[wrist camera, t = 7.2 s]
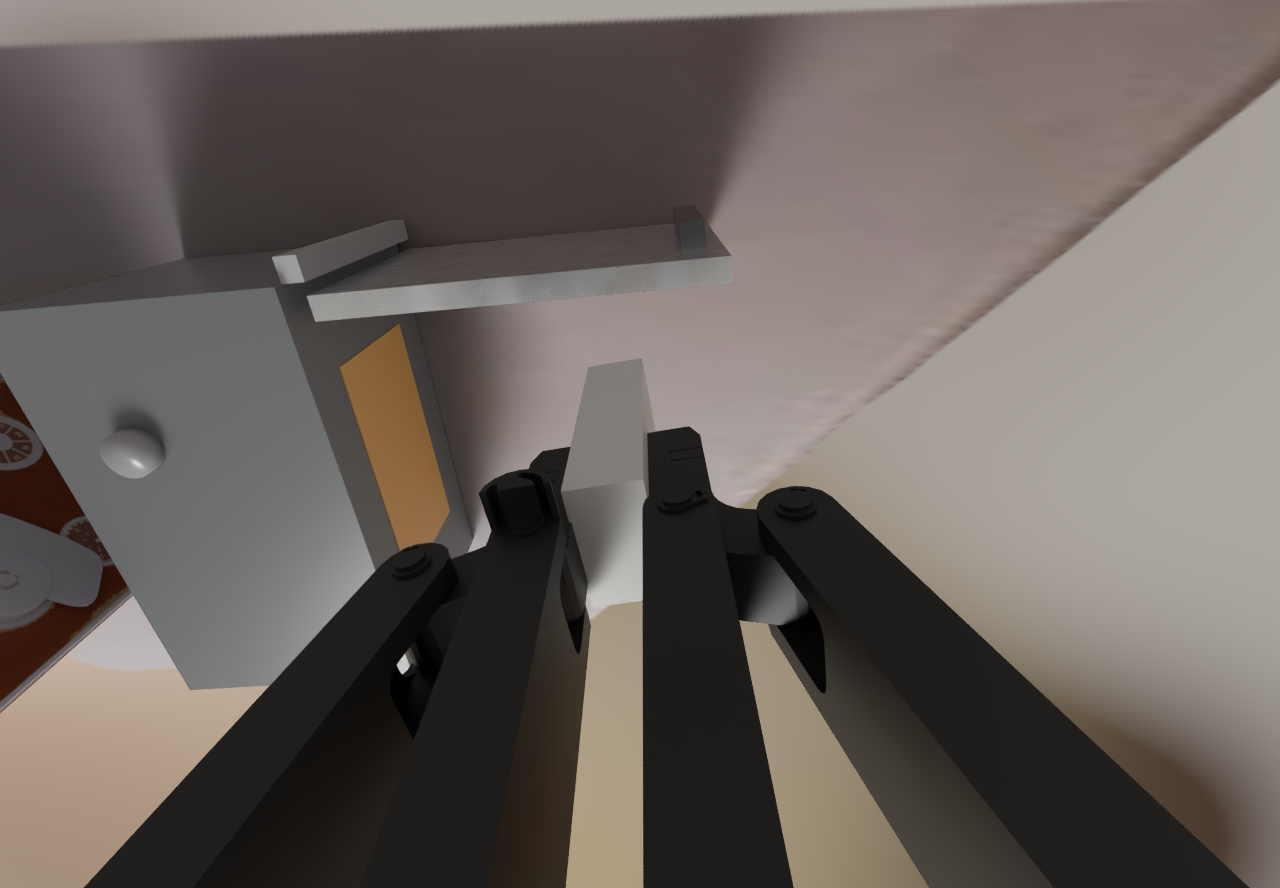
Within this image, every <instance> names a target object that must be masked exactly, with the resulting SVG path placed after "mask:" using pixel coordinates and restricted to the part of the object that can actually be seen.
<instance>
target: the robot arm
mask: <svg viewBox="0 0 1280 888" xmlns="http://www.w3.org/2000/svg"><path fill="white" fill-rule="evenodd" d="M479 496H480V498H481V501H482V504H483V507H484V510H485V513H486V516H487V519H488V521H489V524H490V527H491V530H492V531H491V534H490V536H489V539H488V542H487V545H486V546H485V547H482V548H480V549H477V550H475V551H472V552H469V553H466V554H464V555H461V556H458V557H455V558H451V555H450V553H449V550H448V549H447V548H446V547H445V546H444V545H442V544H438V543H432V542H431V543H423V544H416V545H412V546H409V547H407V548H404V549H402V550H401V551H400V552H398V553H396V554H394V555H392V556H391V557H390V558H388V559H387V560H386V561H385V562H384V563H383V564H381V565H380V566H379V568H378V569H377V570H376V571H375V572H374V573H373V574H372V575H371V576H370V577H369V578H368V580H367V581H366V582H365V583H364V584H363V585H362V586H361V587H360V588H359V589H358V590H357V591H356V593H355V594H354V595H353V596H352V597H351V598H350V599H349V600H348V601H347V602H346V603H345V605H344V606H343V607H342V608H341V609H340V610H339V611H338V612H337V613H336V614H335V615H334V616H333V618H332V619H331V620H330V621H329V622H328V623H327V624H326V625H325V626H324V627H323V628H322V630H321V631H320V632H319V633H318V634H317V635H316V636H315V637H314V638H313V639H312V640H311V641H310V643H309V644H308V645H307V646H306V647H305V648H304V649H303V650H302V651H301V652H300V653H299V655H298V656H297V657H296V658H295V659H294V660H293V661H292V662H291V663H290V664H289V665H288V666H287V668H286V669H285V670H284V671H283V672H282V673H281V674H280V675H279V676H278V677H277V678H276V679H275V681H274V682H273V683H272V684H271V685H270V686H269V687H268V688H267V689H266V690H265V691H264V693H263V694H262V695H261V696H260V697H259V698H258V699H257V700H256V701H255V702H254V703H253V704H252V706H251V707H250V708H249V709H248V710H247V711H246V712H245V713H244V714H243V715H242V717H241V718H240V719H239V720H238V721H237V722H236V723H235V724H234V725H233V726H232V727H231V728H230V729H229V731H228V732H227V733H226V734H225V735H224V736H223V737H222V738H221V739H220V740H219V741H218V743H217V744H216V745H215V746H214V747H213V748H212V749H211V750H210V751H209V752H208V753H207V754H206V756H205V757H204V758H203V759H202V760H201V761H200V762H199V763H198V764H197V765H196V767H195V768H194V769H193V770H192V771H191V772H190V773H189V774H188V775H187V776H186V777H185V778H184V779H183V781H182V782H181V783H180V784H179V785H178V786H177V787H176V788H175V789H174V790H173V791H172V793H171V794H170V795H169V796H168V797H167V798H166V799H165V800H164V801H163V802H162V803H161V805H160V806H159V807H158V808H157V809H156V810H155V811H154V812H153V813H152V814H151V815H150V816H149V818H148V819H147V820H146V821H145V822H144V823H143V824H142V825H141V826H140V827H139V828H138V829H137V831H136V832H135V833H134V834H133V835H132V836H131V837H130V838H129V839H128V840H127V841H126V842H125V844H124V845H123V846H122V847H121V848H120V849H119V850H118V851H117V852H116V853H115V855H114V856H113V857H112V858H111V859H110V860H109V861H108V862H107V863H106V864H105V865H104V866H103V868H102V869H101V870H100V871H99V872H98V873H97V874H96V875H95V876H94V877H93V878H92V879H91V880H90V882H89V883H88V884H87V885H86V886H85V887H84V888H565V886H566V876H567V867H568V856H569V845H570V835H571V825H572V814H573V804H574V794H575V783H576V772H577V763H578V752H579V742H580V731H581V721H582V710H583V700H584V690H585V680H586V669H587V659H588V648H589V636H590V627H591V625H590V620H589V615H588V612H587V608H586V605H585V603H586V594H587V589H588V593H589V596H590V600H591V604H592V607H598V606H605V605H612V604H619V603H627V602H634V601H642V600H643V853H644V854H643V865H644V867H643V869H644V870H643V873H644V874H643V876H644V877H643V878H644V880H643V881H644V882H643V884H644V888H793V883H792V878H791V873H790V868H789V863H788V858H787V853H786V848H785V843H784V838H783V834H782V828H781V824H780V818H779V814H778V809H777V804H776V799H775V794H774V789H773V784H772V779H771V774H770V769H769V764H768V759H767V754H766V750H765V745H764V740H763V735H762V730H761V725H760V720H759V715H758V710H757V705H756V701H755V695H754V691H753V686H752V681H751V676H750V672H749V666H748V662H747V656H746V651H745V646H744V641H743V637H742V631H741V626H740V622H739V620H742V621H749V622H757V623H766V624H768V625H769V628H770V631H771V634H772V636H773V637H774V639H775V640H776V642H777V644H778V645H779V647H780V649H781V650H782V652H783V653H784V655H785V657H786V658H787V660H788V661H789V663H790V665H791V666H792V668H793V670H794V671H795V673H796V674H797V676H798V677H799V679H800V681H801V682H802V684H803V686H804V687H805V689H806V690H807V692H808V693H809V695H810V697H811V698H812V700H813V702H814V703H815V705H816V706H817V708H818V710H819V711H820V713H821V715H822V716H823V718H824V719H825V721H826V723H827V724H828V726H829V727H830V729H831V731H832V732H833V734H834V735H835V737H836V739H837V740H838V742H839V743H840V745H841V747H842V748H843V750H844V751H845V753H846V755H847V756H848V758H849V759H850V761H851V763H852V764H853V766H854V768H855V769H856V771H857V772H858V774H859V776H860V777H861V779H862V780H863V782H864V783H865V785H866V787H867V788H868V790H869V792H870V793H871V795H872V796H873V798H874V800H875V801H876V803H877V805H878V806H879V808H880V809H881V811H882V812H883V814H884V816H885V817H886V819H887V821H888V822H889V824H890V825H891V827H892V829H893V830H894V832H895V833H896V835H897V836H898V838H899V840H900V841H901V843H902V845H903V846H904V848H905V850H906V851H907V853H908V854H909V856H910V857H911V859H912V861H913V862H914V864H915V866H916V867H917V869H918V870H919V872H920V874H921V875H922V877H923V878H924V880H925V882H926V883H927V885H928V886H929V888H1249V887H1248V886H1247V885H1246V884H1245V883H1244V882H1243V881H1242V880H1240V879H1239V878H1238V877H1237V876H1236V875H1235V874H1234V873H1233V872H1232V871H1231V870H1230V869H1229V868H1228V867H1227V866H1226V865H1224V864H1223V863H1222V862H1221V861H1220V860H1219V859H1218V858H1217V857H1216V856H1215V855H1214V854H1213V853H1212V852H1211V851H1210V850H1208V849H1207V848H1206V847H1205V846H1204V845H1203V844H1202V843H1201V842H1200V841H1199V840H1198V839H1197V838H1196V837H1195V836H1193V835H1192V834H1191V833H1190V832H1189V831H1188V830H1187V829H1186V828H1185V827H1184V826H1183V825H1182V824H1181V823H1179V821H1178V820H1176V819H1175V818H1174V817H1173V816H1172V815H1171V814H1170V813H1169V812H1168V811H1167V810H1166V809H1165V808H1164V807H1163V806H1161V805H1160V804H1159V803H1158V802H1157V801H1156V800H1155V799H1154V798H1153V797H1152V796H1151V795H1150V794H1149V793H1148V792H1147V791H1145V790H1144V789H1143V788H1142V787H1141V786H1140V785H1139V784H1138V783H1137V782H1136V781H1135V780H1134V779H1133V778H1132V777H1131V776H1129V775H1128V774H1127V773H1126V772H1125V771H1124V770H1123V769H1122V768H1121V767H1120V766H1119V765H1118V764H1117V763H1116V762H1115V761H1113V760H1112V759H1111V758H1110V757H1109V756H1108V755H1107V754H1106V753H1105V752H1104V751H1103V750H1102V749H1101V748H1100V747H1099V746H1097V745H1096V744H1095V743H1094V742H1093V741H1092V740H1091V739H1090V738H1089V737H1088V736H1087V735H1086V734H1085V733H1084V732H1082V731H1081V730H1080V729H1079V728H1078V727H1077V726H1076V725H1075V724H1074V723H1073V722H1072V721H1071V720H1070V719H1069V718H1068V717H1066V716H1065V715H1064V714H1063V713H1062V712H1061V711H1060V710H1059V709H1058V708H1057V707H1056V706H1054V704H1053V703H1051V702H1050V701H1049V700H1048V699H1047V698H1046V697H1045V696H1044V695H1043V694H1042V693H1041V692H1040V691H1039V690H1038V689H1036V687H1034V686H1033V685H1032V684H1031V683H1030V682H1029V681H1028V680H1027V679H1026V678H1025V677H1023V675H1022V674H1021V673H1019V672H1018V671H1017V670H1016V669H1015V668H1014V667H1013V666H1012V665H1011V664H1010V663H1009V662H1008V661H1007V660H1006V659H1005V658H1003V657H1002V656H1001V655H1000V654H999V653H998V652H997V651H996V650H995V649H994V648H993V647H992V646H991V645H990V644H989V643H987V642H986V641H985V640H984V639H983V638H982V637H981V636H980V635H979V634H978V633H977V632H976V631H975V630H974V629H972V628H971V627H970V626H969V625H968V624H967V623H966V622H965V621H964V620H963V619H962V618H961V617H959V615H958V614H956V613H955V612H954V611H953V610H952V609H951V608H950V607H949V606H948V605H947V604H946V603H945V602H944V601H943V600H941V599H940V598H939V597H938V596H937V595H936V594H935V593H934V592H933V591H932V590H931V589H930V588H929V587H928V586H927V585H926V584H924V583H923V582H922V581H921V580H920V579H919V578H918V577H917V576H916V575H915V574H914V573H913V572H911V570H910V569H908V568H907V567H906V566H905V565H904V564H903V563H902V562H901V561H900V560H899V559H898V558H897V557H896V556H894V555H893V554H892V553H891V552H890V551H889V550H888V549H887V548H886V547H885V546H884V545H883V544H882V543H881V542H879V540H877V539H876V538H875V537H874V536H873V535H872V534H871V533H870V532H869V531H868V530H867V529H866V528H865V527H864V526H862V525H861V524H860V523H859V522H858V521H857V520H856V519H855V518H854V517H853V516H852V515H851V514H850V513H849V512H848V511H847V510H845V509H844V508H843V507H842V506H841V505H840V504H839V503H838V502H837V501H836V500H835V499H834V498H833V497H831V496H830V495H828V494H827V493H825V492H823V491H821V490H818V489H814V488H811V487H803V486H800V487H798V486H791V487H786V488H780V489H777V490H775V491H773V492H770V493H768V494H766V495H765V496H764V497H763V498H762V499H761V500H760V501H759V502H758V506H757V509H756V510H755V509H742V508H735V507H732V506H728V505H726V504H724V503H722V502H720V501H718V500H717V499H716V498H715V497H714V495H713V493H712V491H711V486H710V481H709V477H708V472H707V467H706V462H705V457H704V452H703V448H702V442H701V437H700V434H698V433H697V432H696V431H694V430H693V429H692V428H691V427H682V428H676V429H670V430H663V431H657V432H655V427H654V422H653V416H652V411H651V405H650V400H649V394H648V389H647V384H646V378H645V373H644V367H643V362H642V358H640V359H634V360H628V361H622V362H616V363H610V364H604V365H598V366H593V367H588V371H587V376H586V380H585V385H584V389H583V394H582V398H581V403H580V407H579V412H578V416H577V421H576V425H575V430H574V434H573V439H572V443H571V447H566V448H560V449H554V450H547V451H542V452H541V453H540V454H539V455H538V456H537V457H536V458H535V459H534V460H533V461H532V462H531V464H530V467H529V469H526V470H518V471H514V472H510V473H506V474H504V475H502V476H500V477H497V478H495V479H493V480H492V481H491V482H489V483H488V484H486V485H485V486H484V487H483V488H482V490H481V491H480V492H479ZM407 651H408V653H409V655H410V657H411V660H412V662H413V663H412V664H411V665H410V667H409V668H408V670H407V671H406V672H405V673H403V674H402V673H401V672H400V671H399V669H398V667H397V664H398V663H399V661H400V660H401V658H402V657H403V656H404V654H405V653H406V652H407Z"/></svg>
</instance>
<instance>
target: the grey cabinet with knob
mask: <svg viewBox="0 0 1280 888" xmlns="http://www.w3.org/2000/svg"><path fill="white" fill-rule="evenodd" d="M405 240H408V235H407V231H406V227H405V223H404V219H403V220H393V221H385V222H382V223H379V224H376V225H373V226H369V227H366V228H363V229H360V230H356V231H353V232H350V233H347V234H344V235H340V236H337V237H334V238H331V239H328V240H324V241H321V242H318V243H315V244H311V245H308V246H305V247H302V248H295V249H284V250H273V251H262V252H252V253H241V254H230V255H219V256H208V257H197V258H186V259H181V260H177V261H173V262H169V263H165V264H161V265H157V266H154V267H150V268H146V269H142V270H138V271H134V272H130V273H126V274H122V275H118V276H114V277H111V278H107V279H103V280H99V281H95V282H91V283H87V284H83V285H79V286H75V287H71V288H68V289H64V290H60V291H56V292H52V293H48V294H44V295H40V296H36V297H32V298H28V299H25V300H21V301H17V302H13V303H9V304H5V305H1V306H0V373H1V375H2V377H3V378H4V380H5V382H6V383H7V385H8V387H9V388H10V390H11V392H12V393H13V395H14V397H15V398H16V400H17V402H18V403H19V405H20V407H21V408H22V410H23V412H24V413H25V415H26V417H27V418H28V420H29V422H30V423H31V425H32V427H33V428H34V430H35V432H36V433H37V435H38V437H39V438H40V440H41V442H42V443H43V445H44V447H45V448H46V450H47V452H48V453H49V455H50V457H51V458H52V460H53V462H54V463H55V465H56V467H57V468H58V470H59V472H60V473H61V475H62V477H63V478H64V480H65V482H66V484H67V485H68V487H69V489H70V490H71V492H72V494H73V495H74V497H75V499H76V500H77V502H78V504H79V505H80V507H81V509H82V510H83V512H84V514H85V515H86V517H87V519H88V520H89V522H90V524H91V525H92V527H93V529H94V530H95V532H96V534H97V535H98V537H99V539H100V540H101V542H102V544H103V545H104V547H105V549H106V550H107V552H108V554H109V555H110V557H111V559H112V560H113V562H114V564H115V565H116V567H117V569H118V570H119V572H120V574H121V575H122V577H123V579H124V580H125V582H126V584H127V585H128V587H129V589H130V590H131V592H132V594H133V595H134V597H135V599H136V600H137V602H138V604H139V605H140V607H141V609H142V610H143V612H144V614H145V615H146V617H147V619H148V620H149V622H150V624H151V625H152V627H153V629H154V630H155V632H156V634H157V636H158V637H159V639H160V641H161V642H162V644H163V646H164V647H165V649H166V651H167V652H168V654H169V656H170V657H171V659H172V661H173V662H174V664H175V666H176V667H177V669H178V670H179V672H180V674H181V675H182V677H183V679H184V680H185V682H186V684H187V686H188V687H189V689H190V690H197V689H214V688H232V687H248V686H267V685H271V684H272V683H273V682H274V681H275V679H276V678H277V677H278V676H279V675H280V674H281V673H282V672H283V671H284V670H285V669H286V668H287V666H288V665H289V664H290V663H291V662H292V661H293V660H294V659H295V658H296V657H297V656H298V655H299V653H300V652H301V651H302V650H303V649H304V648H305V647H306V646H307V645H308V644H309V643H310V641H311V640H312V639H313V638H314V637H315V636H316V635H317V634H318V633H319V632H320V631H321V630H322V628H323V627H324V626H325V625H326V624H327V623H328V622H329V621H330V620H331V619H332V618H333V616H334V615H335V614H336V613H337V612H338V611H339V610H340V609H341V608H342V607H343V606H344V605H345V603H346V602H347V601H348V600H349V599H350V598H351V597H352V596H353V595H354V594H355V593H356V591H357V590H358V589H359V588H360V587H361V586H362V585H363V584H364V583H365V582H366V581H367V580H368V578H369V577H370V576H371V575H372V574H373V573H374V572H375V571H376V570H377V569H378V568H379V566H380V565H381V564H383V563H384V562H385V561H386V560H387V559H388V558H390V557H391V556H392V555H394V554H396V553H398V552H400V551H401V550H402V549H404V548H407V547H409V546H412V545H416V544H423V543H431V542H432V543H438V544H442V545H444V546H445V547H446V548H447V549H448V550H449V553H450V555H451V558H455V557H458V556H461V555H464V554H466V553H467V552H468V550H469V548H470V545H471V543H472V541H473V537H472V533H471V530H470V526H469V522H468V518H467V514H466V510H465V506H464V502H463V499H462V495H461V491H460V487H459V483H458V479H457V475H456V472H455V468H454V464H453V460H452V456H451V452H450V448H449V444H448V441H447V437H446V433H445V429H444V425H443V421H442V417H441V413H440V410H439V406H438V402H437V398H436V394H435V390H434V386H433V382H432V379H431V375H430V371H429V367H428V363H427V359H426V355H425V352H424V348H423V344H422V340H421V336H420V332H419V328H418V324H417V321H416V317H415V313H406V314H395V315H384V316H373V317H362V318H351V319H340V320H330V321H319V322H315V319H314V316H313V314H312V311H311V308H310V305H309V302H308V299H307V295H309V294H312V293H314V292H316V291H318V290H320V289H323V288H325V287H327V286H329V285H331V284H333V283H336V282H338V281H340V280H342V279H344V278H347V277H349V276H351V275H353V274H355V273H357V272H360V271H362V270H364V269H366V268H368V267H371V266H373V265H375V264H377V263H379V262H381V261H384V260H386V259H388V258H390V257H392V256H395V255H397V254H399V251H398V247H397V244H398V243H400V242H403V241H405ZM412 663H413V662H412V660H411V657H410V655H409V653H408V651H407V652H406V653H405V654H404V656H403V657H402V658H401V660H400V661H399V663H398V664H397V667H398V669H399V671H400V672H401V673H402V674H403V673H405V672H406V671H407V670H408V668H409V667H410V665H411V664H412Z"/></svg>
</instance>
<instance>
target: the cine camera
mask: <svg viewBox="0 0 1280 888" xmlns="http://www.w3.org/2000/svg"><path fill="white" fill-rule="evenodd" d="M132 596H133V594H132V592H131V590H130V589H129V587H128V585H127V584H126V582H125V580H124V579H123V577H122V575H121V574H120V572H119V570H118V569H117V567H116V565H115V564H114V562H113V560H112V559H111V557H110V555H109V554H108V552H107V550H106V549H105V547H104V545H103V544H102V542H101V540H100V539H99V537H98V535H97V534H96V532H95V530H94V529H93V527H92V525H91V524H90V522H89V520H88V519H87V517H86V515H85V514H84V512H83V510H82V509H81V507H80V505H79V504H78V502H77V500H76V499H75V497H74V495H73V494H72V492H71V490H70V489H69V487H68V485H67V484H66V482H65V480H64V478H63V477H62V475H61V473H60V472H59V470H58V468H57V467H56V465H55V463H54V462H53V460H52V458H51V457H50V455H49V453H48V452H47V450H46V448H45V447H44V445H43V443H42V442H41V440H40V438H39V437H38V435H37V433H36V432H35V430H34V428H33V427H32V425H31V423H30V422H29V420H28V418H27V417H26V415H25V413H24V412H23V410H22V408H21V407H20V405H19V403H18V402H17V400H16V398H15V397H14V395H13V393H12V392H11V390H10V388H9V387H8V385H7V383H6V382H5V380H4V378H0V713H1V712H2V711H3V710H4V709H5V708H6V707H8V706H9V705H10V704H11V703H12V702H13V701H14V700H16V699H17V698H18V697H19V696H20V695H21V694H22V693H23V692H25V691H26V690H27V689H28V688H29V687H30V686H31V685H32V684H34V683H35V682H36V681H37V680H38V679H39V678H40V677H41V676H43V675H44V674H45V673H46V672H47V671H48V670H49V669H50V668H51V667H53V666H54V665H55V664H56V663H57V662H58V661H59V660H60V659H62V658H63V657H64V656H65V655H66V654H67V653H69V652H70V651H71V650H72V649H73V648H74V647H75V646H76V645H78V644H79V643H80V642H81V641H82V640H83V639H84V638H85V637H87V636H88V635H89V634H90V633H91V632H92V631H93V630H94V629H96V628H97V627H98V626H99V625H100V624H101V623H102V622H103V621H105V620H106V619H107V618H108V617H109V616H110V615H111V614H112V613H114V612H115V611H116V610H117V609H118V608H119V607H120V606H121V605H123V604H124V603H125V602H126V601H127V600H128V599H129V598H130V597H132Z"/></svg>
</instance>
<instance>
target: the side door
mask: <svg viewBox="0 0 1280 888" xmlns="http://www.w3.org/2000/svg"><path fill="white" fill-rule="evenodd" d="M673 209H674V223H670V224H660V225H650V226H640V227H629V228H619V229H609V230H598V231H588V232H578V233H568V234H557V235H547V236H537V237H526V238H516V239H506V240H496V241H485V242H475V243H465V244H455V245H444V246H434V247H424V248H413V249H408V250H405V251H403V252H401V253H399V254H397V255H395V256H392V257H390V258H388V259H386V260H384V261H381V262H379V263H377V264H375V265H373V266H371V267H368V268H366V269H364V270H362V271H360V272H357V273H355V274H353V275H351V276H349V277H347V278H344V279H342V280H340V281H338V282H336V283H333V284H331V285H329V286H327V287H325V288H323V289H320V290H318V291H316V292H314V293H312V294H309V295H307V299H308V302H309V305H310V308H311V311H312V314H313V316H314V319H315V322H319V321H330V320H340V319H351V318H362V317H373V316H384V315H395V314H406V313H417V312H427V311H438V310H449V309H460V308H471V307H482V306H493V305H504V304H515V303H525V302H536V301H547V300H558V299H569V298H580V297H591V296H602V295H612V294H623V293H634V292H645V291H656V290H667V289H678V288H689V287H699V286H710V285H721V284H732V256H731V254H730V253H729V252H728V250H727V249H726V248H725V246H724V245H723V244H722V242H721V241H720V240H719V238H718V237H717V236H716V234H715V233H714V232H713V230H712V229H711V228H710V226H709V225H708V224H707V222H706V221H705V220H704V219H703V217H702V216H701V214H700V213H699V212H698V210H697V209H696V208H695V206H687V207H677V208H673Z"/></svg>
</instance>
